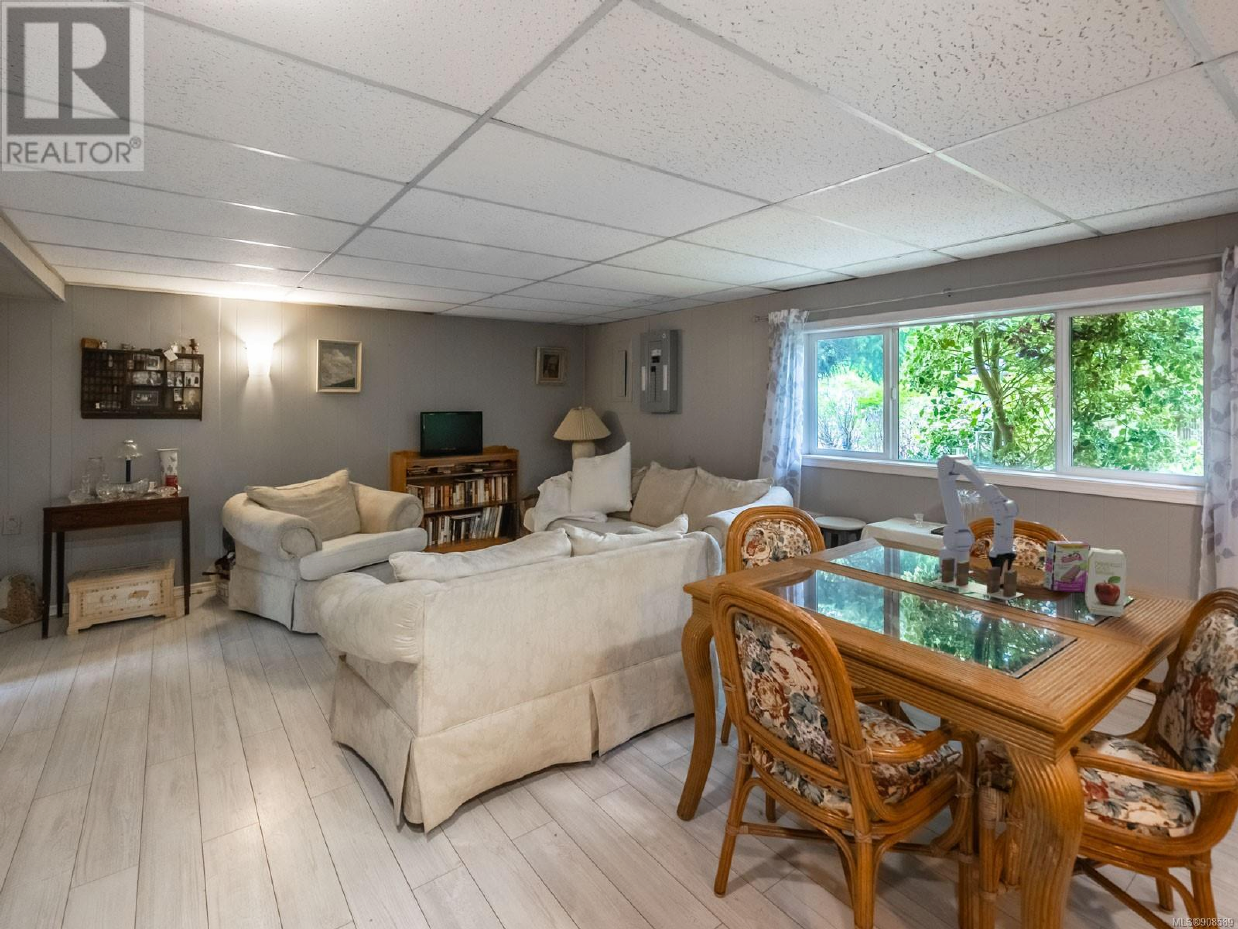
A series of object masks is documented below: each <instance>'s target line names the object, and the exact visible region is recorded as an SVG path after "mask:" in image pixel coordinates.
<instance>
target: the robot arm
mask: <svg viewBox="0 0 1238 929" xmlns="http://www.w3.org/2000/svg"><path fill="white" fill-rule="evenodd" d="M936 466H937V471H938V472H937V482H938V485H939V490H940V496H941V500H942V505H943V510H944V514H945V519H946V523H947V524H946V525H945V526H944V527H943V529H942V532H943V535H942V536H943V537H942V543H943V545H944V546H943V547H941V549H939V554H938V569H937V571H941V572H942V560H943V559H946V558H955V563H954V575H956V574H957V562H960V561H964V560H965V561H969V562H970V550H971V549H972V548H971V547H972V546H974V544H975V540H976V539H975V538H976V537H975V535H974V533H973V532H972V530H971V527H970V526H969V524H966V522H965V521H964V517H963V512H962V507H961V503H960V499H959V493H958V490H957V489H958V488H957V484H956V480H957V479H958V478H959V477H960V476H961V475H962V476H964V477H965V478H966V479H967V480H969V481H970V482H971V484H973V486H974V487H976V488H977V490H978V495H979V496H980V498H982V500H983V501H984V502H985V503H986V504H987V505H988V506H989V508H990V514H991V515H992V517H993V524H994V525H993V540H992V547H991V549H990V550H989V552H988V554H987V556H986V557H987V559H988V560H989V563H990V565H991V568H992V567H995V566H996V567H1001V569H1000V576H1001V575H1002V571H1003V566H1004V563H1005V561H1006V560H1008V571H1009V570H1012V566H1013V563H1014V562H1015V560H1016V558H1017V557H1018V553H1017V550H1016V549H1017V548H1016V547H1017V546H1016V545H1014V534H1015V533H1014V530H1015V517H1016V516H1018V514H1019V512H1020V507H1019V505H1018V504H1017V502H1016V501H1014V500H1011V499H1009V498H1008V497H1007V496H1005V495H1004V494H1003V492H1001V491H1000V490H999V486H997V485H995V484H992V483H991V484H990V483H988V482H987V481H986V479H985V478H984V477H983V476H982V475H981V473H980V472H979V471H978V469H977V468H976V467H975V466H974V462H973V460H972V459H970V457H969V456H968V455H967V454H949V455H948V454H944V455H942V456H940V458H939V459H938V460H937V462H936ZM972 573H974V571H973V570H969V574H972Z"/></svg>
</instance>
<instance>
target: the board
mask: <svg viewBox="0 0 1238 929" xmlns="http://www.w3.org/2000/svg"><path fill="white" fill-rule="evenodd" d="M931 583H934V584H937V585H938V584H939V585H942V586H946V587H951V588H955V589H959V590H962V591H963V590H964V591H967V592H972V593H975V594H979V595H983V596H988V597H992V598H997V599H1001V600H1005V601H1010V600H1012V599H1015V598H1018V597H1021V596H1024V595H1025V594H1024V593H1020V592H1018V591H1016V595H1014V596H1011V597H1009V598H1008V597H1004V596H1003V589H1004V588H1000V590H999V591H998V592H995V593H992V594H991V593H987V584H981V583H977V582H971V581H969V582H968V584H967V585H964V586H957V585H956V578H955V577H954V581H951V582H948V583H944V582H942V578H939V579H936V580H933V581H931Z"/></svg>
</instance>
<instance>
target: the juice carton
mask: <svg viewBox="0 0 1238 929" xmlns="http://www.w3.org/2000/svg"><path fill="white" fill-rule="evenodd" d="M1126 578H1127V559H1126V554H1125V553H1124V552H1123V551H1122V550H1120V549H1103V548H1097V547H1090V551H1089V554H1088V559H1087V575H1086V591H1085V592H1084V593H1085V594H1084V595H1085V597H1084V600H1085V604H1086V609H1088V612H1089V613H1090V614H1091V615H1097V616H1105V617H1110V616H1114V617H1113V618H1118V617H1120V618H1121V615H1122V613H1123V611H1124V606H1125V605H1124V604H1125V594H1126V593H1125V592H1126V580H1127V579H1126Z"/></svg>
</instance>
